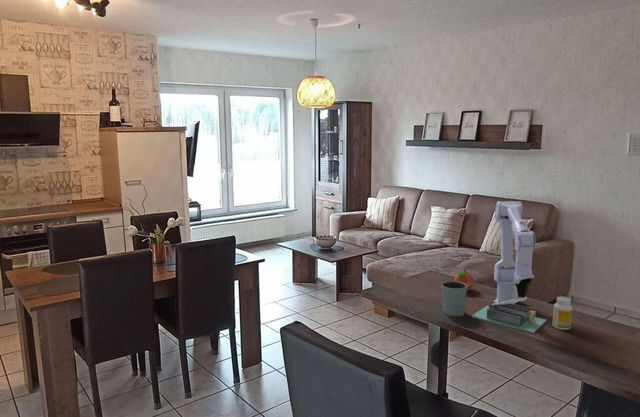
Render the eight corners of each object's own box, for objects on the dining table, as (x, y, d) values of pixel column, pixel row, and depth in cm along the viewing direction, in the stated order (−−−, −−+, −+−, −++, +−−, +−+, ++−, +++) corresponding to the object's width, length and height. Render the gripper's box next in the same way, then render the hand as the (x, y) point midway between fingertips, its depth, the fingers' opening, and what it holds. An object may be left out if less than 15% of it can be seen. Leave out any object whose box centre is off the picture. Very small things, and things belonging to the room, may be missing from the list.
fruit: (449, 288, 229) (450, 268, 227) (465, 285, 233) (465, 265, 231) (462, 294, 221) (463, 273, 219) (478, 290, 225) (479, 270, 224)
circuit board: (487, 306, 205) (487, 305, 205) (546, 321, 190) (546, 319, 190) (471, 317, 194) (471, 315, 194) (533, 333, 179) (533, 331, 178)
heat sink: (496, 309, 201) (497, 298, 200) (538, 319, 190) (539, 307, 189) (484, 317, 192) (485, 306, 191) (528, 328, 181) (528, 316, 180)
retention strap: (490, 307, 195) (490, 305, 195) (493, 305, 197) (492, 303, 197) (524, 300, 185) (524, 298, 185) (527, 298, 187) (526, 296, 187)
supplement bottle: (548, 325, 186) (550, 297, 184) (559, 322, 188) (561, 294, 186) (563, 331, 180) (565, 302, 178) (574, 328, 183) (576, 299, 181)
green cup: (467, 318, 194) (468, 289, 192) (441, 316, 196) (441, 288, 194) (464, 308, 204) (465, 281, 202) (440, 307, 206) (440, 280, 204)
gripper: (527, 268, 177) (525, 304, 179) (540, 260, 188) (538, 294, 190) (508, 265, 182) (506, 300, 184) (522, 257, 192) (520, 290, 195)
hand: (521, 296), depth 187 cm, fingers closed
